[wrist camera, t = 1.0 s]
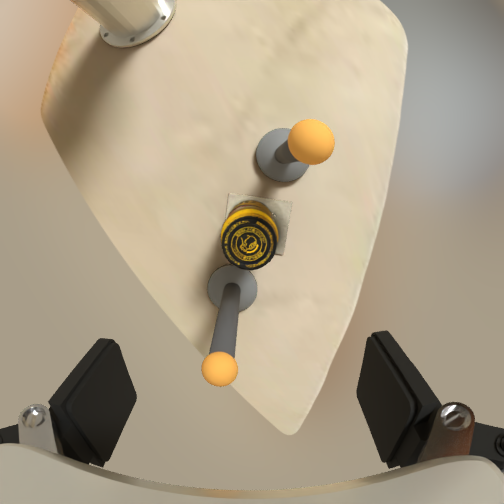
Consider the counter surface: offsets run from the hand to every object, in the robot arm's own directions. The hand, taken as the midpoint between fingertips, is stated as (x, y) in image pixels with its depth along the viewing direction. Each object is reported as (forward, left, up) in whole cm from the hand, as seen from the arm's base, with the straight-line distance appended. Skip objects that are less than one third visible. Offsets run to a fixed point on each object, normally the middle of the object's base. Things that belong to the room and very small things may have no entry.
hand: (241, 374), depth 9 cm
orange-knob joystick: (+9, -3, -29) cm, 31 cm away
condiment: (0, +1, -30) cm, 30 cm away
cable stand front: (-9, +5, -29) cm, 31 cm away
